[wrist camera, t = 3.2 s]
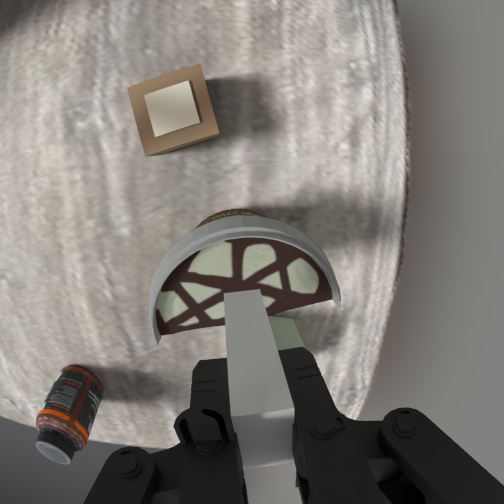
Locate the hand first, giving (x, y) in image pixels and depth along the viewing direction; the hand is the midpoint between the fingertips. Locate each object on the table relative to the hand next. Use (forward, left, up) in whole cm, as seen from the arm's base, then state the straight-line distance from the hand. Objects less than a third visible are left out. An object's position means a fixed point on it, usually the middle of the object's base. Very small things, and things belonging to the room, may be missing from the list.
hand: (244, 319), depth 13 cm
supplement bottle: (+16, -20, -14) cm, 29 cm away
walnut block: (-10, -3, -14) cm, 17 cm away
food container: (0, 0, -14) cm, 14 cm away
